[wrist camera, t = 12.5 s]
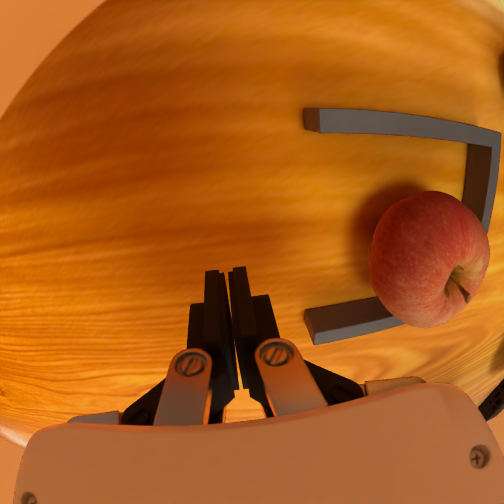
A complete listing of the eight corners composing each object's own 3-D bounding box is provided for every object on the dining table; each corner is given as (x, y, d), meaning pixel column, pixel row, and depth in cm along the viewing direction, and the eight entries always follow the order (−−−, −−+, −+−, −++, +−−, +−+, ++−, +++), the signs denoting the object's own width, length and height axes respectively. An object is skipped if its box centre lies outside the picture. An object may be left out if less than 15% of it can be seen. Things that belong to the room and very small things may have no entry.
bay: (303, 108, 14) (318, 107, 11) (478, 126, 14) (501, 132, 12) (304, 322, 20) (313, 346, 18) (449, 289, 21) (465, 305, 19)
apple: (326, 265, 18) (380, 354, 11) (384, 154, 15) (482, 196, 8) (403, 292, 20) (458, 362, 13) (454, 207, 17) (530, 257, 10)
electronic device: (476, 408, 44) (485, 422, 39) (504, 377, 39) (514, 392, 35) (488, 402, 45) (496, 415, 41) (514, 373, 41) (523, 386, 36)
